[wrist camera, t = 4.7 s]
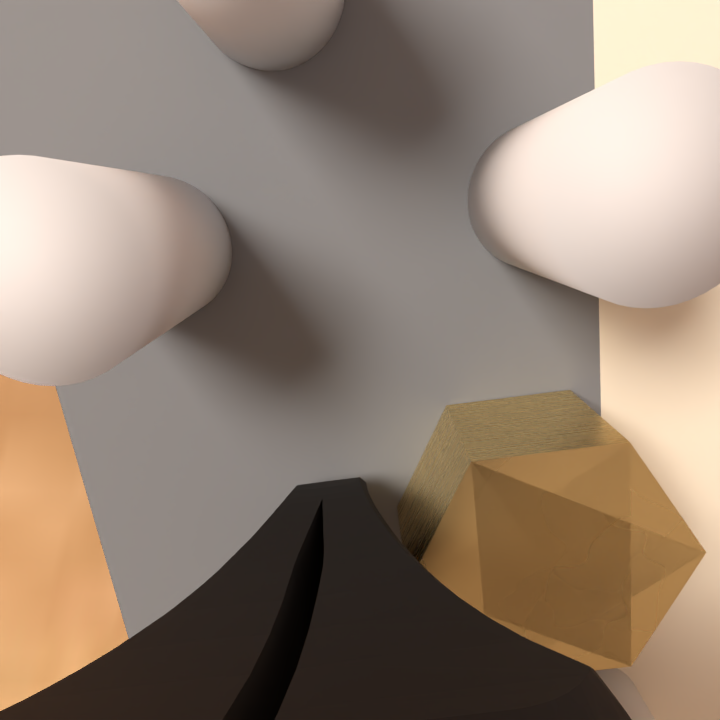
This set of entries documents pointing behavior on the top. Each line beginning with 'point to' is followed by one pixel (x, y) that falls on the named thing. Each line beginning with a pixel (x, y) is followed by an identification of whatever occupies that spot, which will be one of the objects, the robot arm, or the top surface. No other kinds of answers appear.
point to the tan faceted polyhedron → (548, 525)
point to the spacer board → (361, 259)
